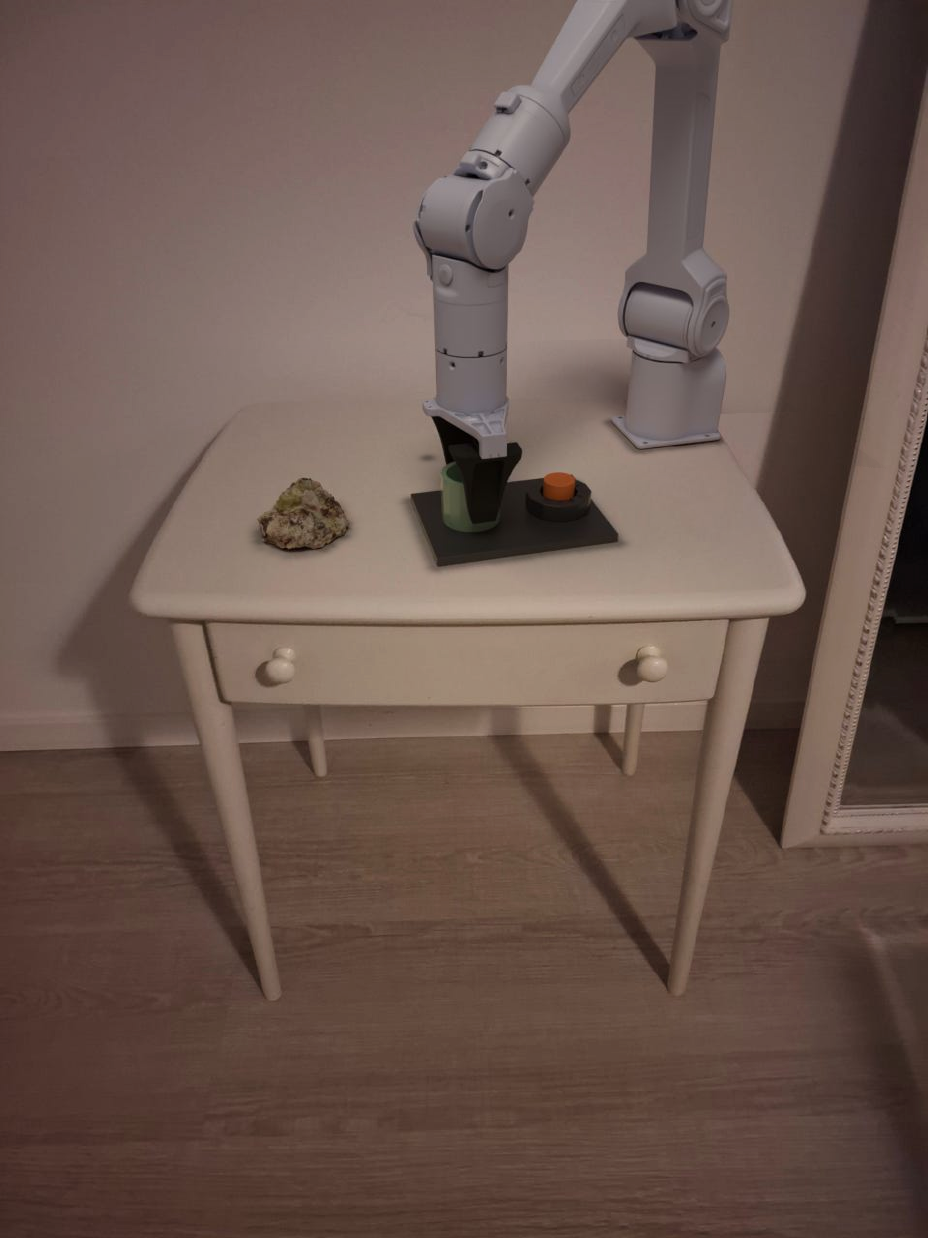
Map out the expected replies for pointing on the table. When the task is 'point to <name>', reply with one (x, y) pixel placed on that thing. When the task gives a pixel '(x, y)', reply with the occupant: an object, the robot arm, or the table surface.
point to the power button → (558, 486)
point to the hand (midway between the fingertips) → (472, 500)
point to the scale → (516, 525)
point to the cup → (458, 503)
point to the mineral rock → (303, 517)
